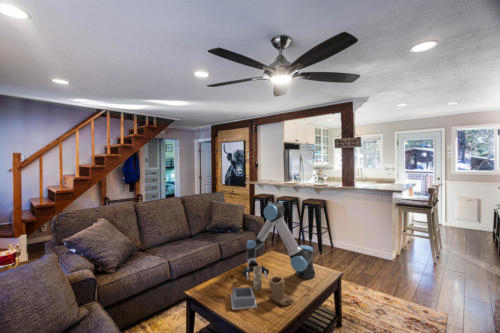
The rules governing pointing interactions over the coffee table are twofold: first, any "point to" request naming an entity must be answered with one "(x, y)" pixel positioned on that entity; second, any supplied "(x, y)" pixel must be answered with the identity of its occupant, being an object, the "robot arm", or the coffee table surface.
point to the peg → (257, 278)
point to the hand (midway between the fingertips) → (257, 277)
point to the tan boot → (279, 291)
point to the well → (243, 298)
